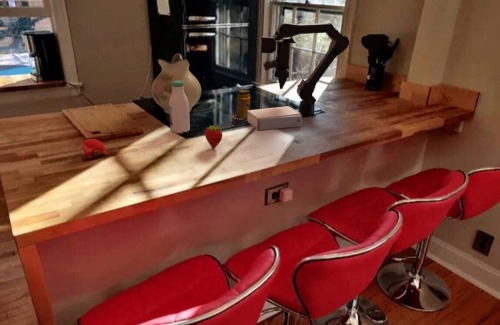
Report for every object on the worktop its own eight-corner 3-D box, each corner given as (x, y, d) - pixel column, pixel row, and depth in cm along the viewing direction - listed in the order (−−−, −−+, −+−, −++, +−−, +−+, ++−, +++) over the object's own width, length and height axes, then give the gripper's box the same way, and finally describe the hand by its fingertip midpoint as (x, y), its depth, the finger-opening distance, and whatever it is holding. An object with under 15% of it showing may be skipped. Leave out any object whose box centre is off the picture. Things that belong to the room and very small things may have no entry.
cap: (79, 152, 123) (94, 142, 123) (78, 140, 127) (92, 131, 127) (96, 165, 129) (110, 155, 129) (94, 153, 133) (108, 144, 133)
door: (300, 125, 161) (300, 114, 159) (302, 126, 159) (303, 116, 157) (256, 129, 155) (257, 118, 153) (258, 131, 153) (258, 120, 151)
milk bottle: (193, 128, 155) (191, 80, 147) (184, 134, 148) (181, 84, 140) (176, 126, 157) (173, 78, 149) (167, 132, 151) (163, 82, 142)
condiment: (253, 117, 170) (254, 91, 165) (237, 120, 166) (237, 94, 160) (244, 113, 175) (245, 87, 170) (229, 116, 171) (229, 90, 166)
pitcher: (168, 121, 162) (165, 62, 152) (143, 108, 178) (138, 54, 168) (211, 112, 176) (210, 57, 165) (183, 101, 192) (181, 50, 181)
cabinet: (287, 116, 172) (288, 106, 170) (299, 124, 163) (300, 113, 161) (247, 121, 165) (247, 110, 163) (257, 129, 156) (258, 118, 153)
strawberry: (215, 143, 142) (215, 117, 137) (226, 149, 136) (226, 123, 132) (201, 146, 138) (200, 120, 134) (212, 153, 133) (211, 126, 129)
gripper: (266, 49, 172) (264, 83, 178) (263, 56, 155) (261, 93, 162) (290, 50, 171) (288, 84, 178) (290, 57, 154) (287, 94, 161)
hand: (281, 89), depth 169 cm, fingers closed
